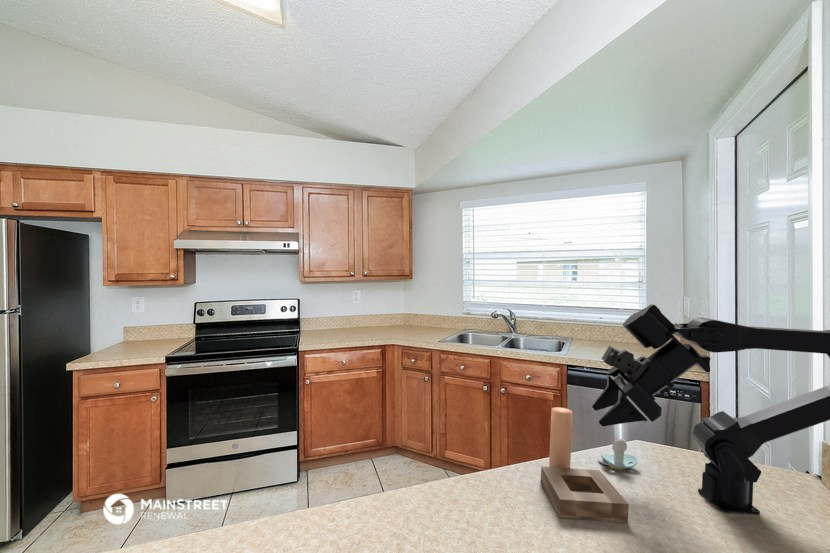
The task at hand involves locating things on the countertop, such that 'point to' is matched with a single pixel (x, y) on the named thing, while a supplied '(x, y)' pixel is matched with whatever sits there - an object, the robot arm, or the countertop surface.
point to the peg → (560, 437)
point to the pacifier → (618, 457)
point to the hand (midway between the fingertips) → (596, 415)
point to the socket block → (583, 494)
